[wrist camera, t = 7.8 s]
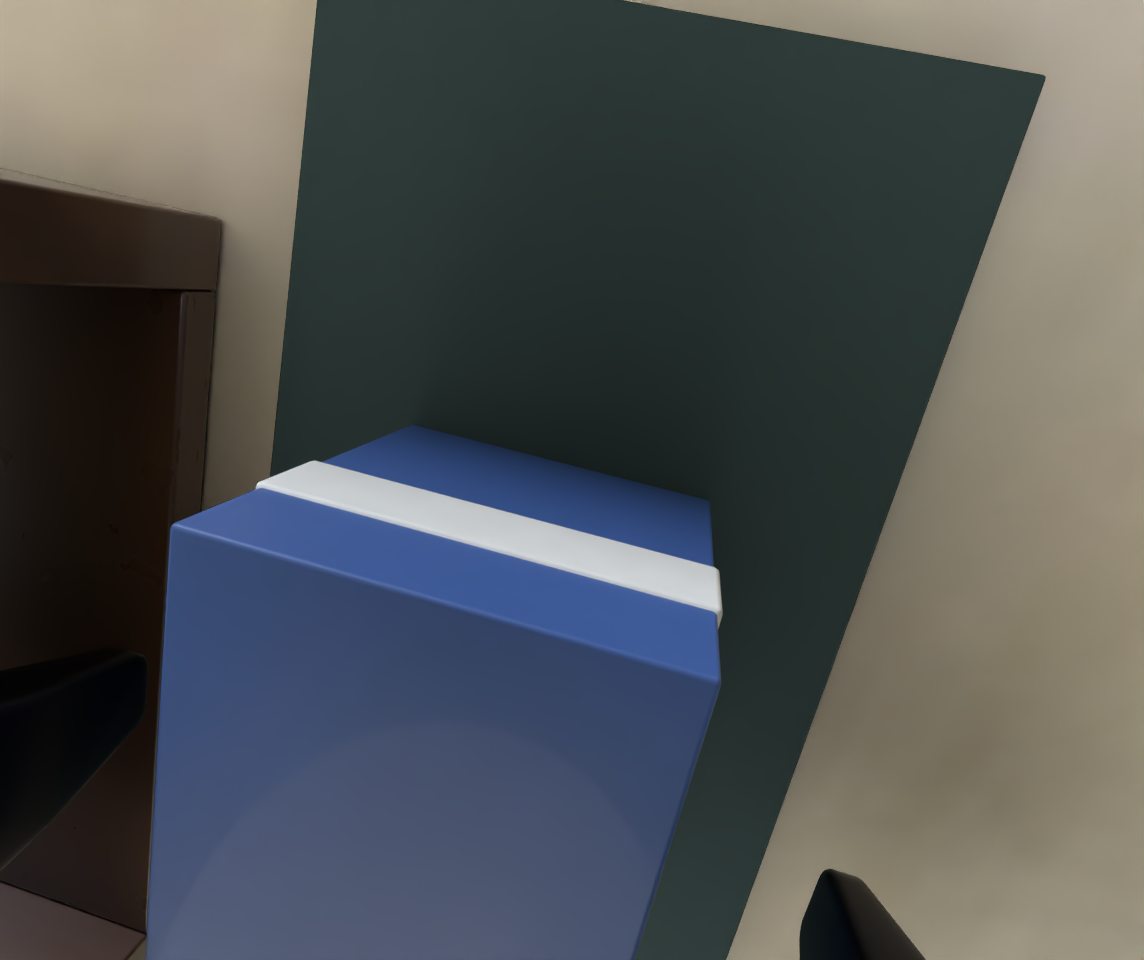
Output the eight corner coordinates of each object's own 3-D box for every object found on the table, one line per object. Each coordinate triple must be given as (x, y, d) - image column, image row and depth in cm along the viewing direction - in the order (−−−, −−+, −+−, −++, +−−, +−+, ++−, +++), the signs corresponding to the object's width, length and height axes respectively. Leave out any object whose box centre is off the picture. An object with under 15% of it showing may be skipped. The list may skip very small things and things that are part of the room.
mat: (661, 1122, 15) (660, 1144, 14) (230, 966, 16) (219, 983, 15) (1034, 84, 9) (1047, 75, 9) (334, -42, 10) (321, -55, 10)
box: (612, 857, 13) (552, 1242, 8) (355, 775, 13) (132, 1080, 8) (714, 497, 11) (732, 678, 6) (408, 419, 11) (163, 517, 6)
